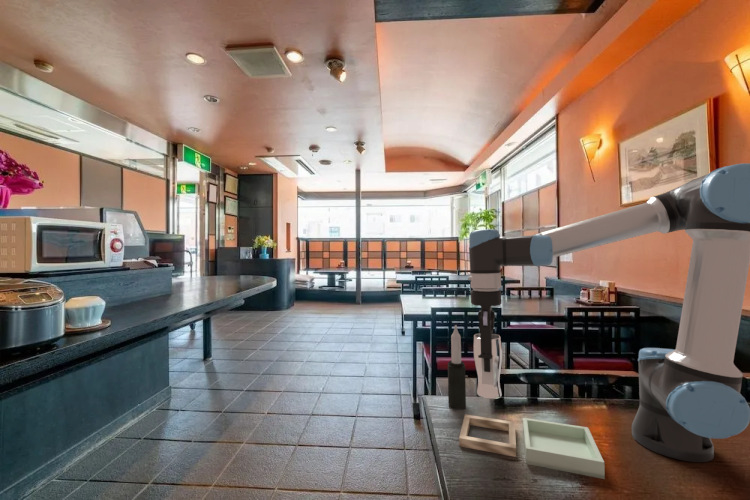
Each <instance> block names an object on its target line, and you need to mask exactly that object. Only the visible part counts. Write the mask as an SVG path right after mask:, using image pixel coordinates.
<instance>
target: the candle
mask: <svg viewBox="0 0 750 500" xmlns="http://www.w3.org/2000/svg"><path fill="white" fill-rule="evenodd" d="M450 338H451V339H450V341H451V342H450V343H451V344H450V345H451V346H450V347H451V349H450V351H451V352H450V354H451V356H450V357H451V360H448V362H447V390H448V392H447V395H448V402H447V403H448V407H449V409H454V410H466V408H467V395H466V394H467V391H466V365H465V363H464V361H462V341H461V339H462V337H461V334H460V333H459V331H458V326H457V324H456V325H454V329H453V332H452V334H451V336H450Z"/></svg>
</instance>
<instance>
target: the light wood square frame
mask: <svg viewBox="0 0 750 500" xmlns="http://www.w3.org/2000/svg"><path fill="white" fill-rule="evenodd" d="M471 426H474V427H475V426H476V427H479V428H481V427H482V428H487V429H492V430H498V431H499V430H500V431H504V432H505V431H506V432H508V443H507V442H501V441H496V440H490V439H485V438H479V437H473V436H469V433H470V432H469V431H470V427H471ZM460 429H461V430H460V434H459V437H458V440H459V441H458V447H461V448H462V447H463V448H467V449H473V450H477V451H478V450H479V451H482V452H483V451H484V452H489V453H494V454H500V455H504V456H509V457H515V458H517V443H516V442H517V440H516V439H517V437H516V436H517V435H516V422H515V421H510V420H506V419H505V420H504V419H498V418H492V417H485V416H484V417H483V416H479V415H478V416H477V415H473V414H466V413H465V414H464V417H463V421H462V424H461V428H460Z"/></svg>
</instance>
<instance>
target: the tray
mask: <svg viewBox="0 0 750 500" xmlns="http://www.w3.org/2000/svg"><path fill="white" fill-rule="evenodd" d="M522 435H523V444H524V455H525V464H526V465H530V466H536V467H540V468H545V469H550V470H551V469H552V470H555V471H560V472H566V473H571V474H577V475H581V476H586V477H591V478H592V477H593V478H595V479H596V478H597V479H601V480H602V479H603V480H605V479H606V478H605V477H606V476H605V474H606V473H605V467H606V466H605V461H604V459H603V457H602V454H601V452H600V450H599V448H598V446H597V444H596V441H595V439H594V437H593V435H592V432H591V431H590V429H589V427H587V426H581V425H573V424H568V423H560V422H554V421H548V420H541V419H533V418H527V417H522Z"/></svg>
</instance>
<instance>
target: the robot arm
mask: <svg viewBox="0 0 750 500" xmlns="http://www.w3.org/2000/svg"><path fill="white" fill-rule="evenodd" d="M677 231H678V232H679V231H684V232H685V234H687V235H688V236H689V237H690V238H691V239H692V245H691V250H690V257H689V262H688V263H689V264H688V269H687V275H686V276H687V277H686V282H685V289H684V295H683V301H682V307H681V308H682V309H681V314H680V321H679V326H678V327H679V328H678V334H677V340H676V345H675V349H673V348H662V347H661V348H660V347H643V348H640V349H639V351H638V358H637V362H638V385H639V386H638V388H639V389H638V390H639V392H638V395H639V406H638V409H637V412H636V414H635V417H634V418H633V421H632V423H631V435H632V438H633V440H635V441H636V442H637V443H639V444H640V445H641V446H643V447H644V448H646V449H648V450H650V451H651V452H655V453H656V454H659V455H662V456H665V457H668V458H672V459H675V460H680V461H683V462H689V463H707V462H711V461H712V460H713V459H714V457H715V447H714V443H713V441H712V439H715V440H716V439H719V440H721V439H722V440H723V439H728V438H729V437H733V436H737V435H739V434H741V433H742V432H743V431H745V430H746V428H748V426H749V424H750V406H749V403H748V402H747V400H746V398H745V397H744V396H743V395H742V394H741V389H742V382H743V381H742V380H743V375H744V374H743V372H742V371H741V370H740V369H739V368H738V367H737V366H736V365H735V363H734V360H735V353H736V347H737V343H738V342H737V341H738V337H739V330H740V329H739V328H740V323H741V317H742V311H743V305H744V300H745V293H746V287H747V281H748V274H749V270H750V269H749V268H750V163H748V162H747V163H745V162H744V163H737V164H731V165H726V166H723V167H719V168H716V169H714V170H712V171H711V172H709V173H707V174H705V175H703V176H699V177H697V178H695V179H692V180H690V181H688V182H686V183H684V184H682V185H679V186H677V187H675V188H673V189H671V190H669V191H665V192H663V193H660V194H657V195H653V196H651V197H649V198H648V199H647V201H646V202H643V203H640V204H637V205H634V206H630V207H627V208H623V209H620V210H617V211H616V210H615V211H612V212H609V213H605V214H603V215H599V216H598V215H597V216H595V217H592V218H588V219H585V220H581V221H577V222H574V223H570V224H567V225H564V226H559V227H557V228H553V229H549V230H546V231H542V232H540V233H539V232H538V233H536V234H535V233H534V234H532V235H531V234H530V235H521V236H520V235H519V236H518V235H516V236H515V235H514V236H500V231H499V230H498V229H494V228H493V229H492V228H490V229H475V230H472V231H471V232H470V233H469V238H468V239H469V245H468V246H469V247H468V252H469V258H468V259H469V272H470V274H469V275H470V276H468V278H467V279H468V281H470V288H471V291H470V302H471V304H472V305H473V306H477V307H478V306H480V310H479V311H478V312H477V318H478V328H479V330H480V331H479V333H480V337H481V354H480V355H478V358H481V365H482V384H489V385H494V377H493V358H492V357H493V355H492V334H494V329H495V317H496V314H495V311H494V310H493V308H492V307H498V306H500V305H502V291H501V290H500V289H501V288H502V275H501V267H541V266H550V265H551V264H552V263H553V260H554V259H553V258H557V257H560V256H565V255H568V254H573V253H576V252H577V253H578V252H581V251H585V250H588V249H592V248H596V247H600V246H601V247H602V246H605V245H608V244H612V243H613V244H614V243H616V242H620V241H625V240H629V239H632V238H636V237H640V236H646V235H648V234H652V233H657V232H658V233H661V234H668V233H669V234H670V233H673V232H677ZM484 352H486V353H484Z"/></svg>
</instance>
